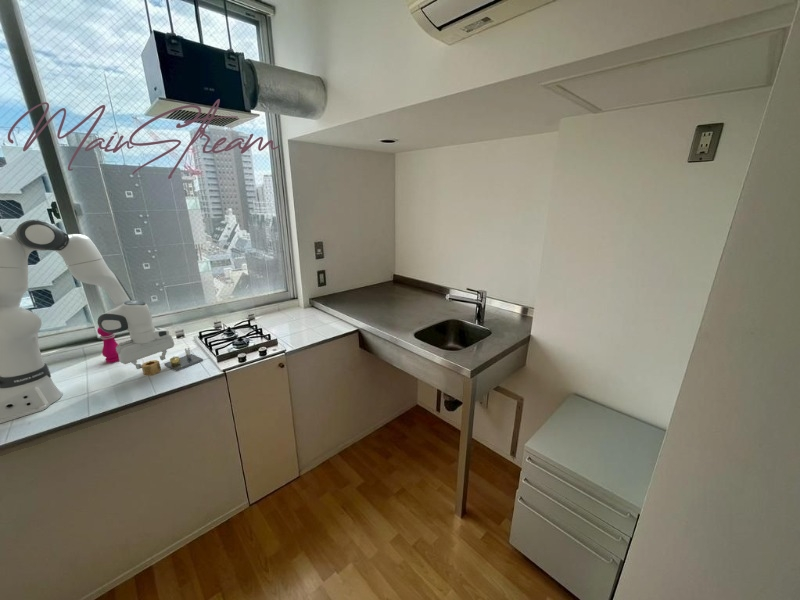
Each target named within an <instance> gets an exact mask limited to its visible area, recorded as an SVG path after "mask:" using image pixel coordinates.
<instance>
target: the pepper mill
mask: <svg viewBox="0 0 800 600" xmlns="http://www.w3.org/2000/svg"><path fill="white" fill-rule="evenodd" d="M97 334H98V335H100V340H102V342H103V347H102V350H101V352H102V357H105V362H106V363H107V364H113V363H117V362H120V361H119V357H118V353H117V351H116V346H117V345H119V344H118V343H117V342H116V339H115V337H116V335H115V333H107V332H104V331H103V330H102V329H100V327H99V326H98V328H97Z"/></svg>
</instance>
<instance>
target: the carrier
mask: <svg viewBox="0 0 800 600" xmlns="http://www.w3.org/2000/svg"><path fill="white" fill-rule="evenodd" d="M190 350H191V349H190V348H189V347H186V348H184V351H185V355H184V356H180V357H179V356H172V357H171V358H169V361H167V362H165V363H164V366H166V367H167V368H169V369H171V370H172V371H175V372H178V371H181V370H184V369H186V368H189V367H191V366H194V365H196V364H198V363H201V362H204V358H203V357H200V356H198V355H195V354H193V353H191V351H190Z"/></svg>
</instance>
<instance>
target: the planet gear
mask: <svg viewBox="0 0 800 600" xmlns="http://www.w3.org/2000/svg"><path fill="white" fill-rule="evenodd" d="M141 367H142V368H141V369H142V374H143V375H144V376H146V377H148V376H149V377H150V376H154V375H157V374H160V372H162V368H161V364H160V361H159V360H158V359H154V360H153V359H152V360H149V361H145V362H143V363H142V364H141Z"/></svg>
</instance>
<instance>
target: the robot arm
mask: <svg viewBox="0 0 800 600" xmlns="http://www.w3.org/2000/svg"><path fill="white" fill-rule="evenodd" d="M38 251H40V252H41V251H54V252H56V253H58V255H60V256H61V258H62V260H63V262H64V263H65V265H66V267H67V269H68V271H69V273H70V274H71V275H72V276H73V278H74V279H75V280H77V281H78V282H81V283H82V284H87V285H95V286H98V287H100V288H102V289H103V290H104V291H105V292H106V294H107V295H108V297H109V298H110V300H111V301H112V303H113V304H114V307H113V308H112V309H109V310H108V311H106V312H104V313H102V314H101V315H99V316H98V318H97V326H98V328H99V327H100V329H102V330H103V331H104V332H107V333H114V334H117V333H121V332H126V331H128V332H129V336H130V340H126V341H123V342H120V343H119V344H118V345H117V346H116V351H117V353H118V357H119V361H118V362H120V363H121V364H123V365H128V364H130V363H131V364H133V365H134V366H135V369H136V370H140V369H142V367H141V365H142V364H141V363H138V360H141V359H143V358H147V357H149V356H152V355H156V354H159V353H161V355H159V360H161V361H163V360H166V355H167V353H168V351H167V350H169V349H172V348H174V346H175V342H174V339H173V337H172V335H171V334H170V331H169V330H168V329H166V328H163V327H155V325H154V323H153V317H152V313H151V310H150V308H149V305H148V304H147V303H146V302H145V301H144V300H140V299H132V297H131V296H130V294H129V293H128V291H127V290H126V288H125V286H124V285H123V283H122V282H121V280H120V279H119V277H118V276H117V275H116V274H115V273H114V272H113V271H112V270H111V269H110V268H109V266H108V264H107V263H106V261H105V260H104V258H103V256H102V254H101V252H100V251H99V249H98V248H97V246H96V245H95V243H94V242H93V241H92V239H91V238H90V237H89V236H87V235H86V234H80V233H72V234H71V233H69V234H68V233H66V232H65V231H64V230H62V229H61V228H59V227H58V226H56V225H55V224H53V223H52V222H49V221H46V220H43V219H29V220H26V221H23V222H21V223H20V224H19V225H18V226H17V228H16V229H15V231H14V232H13V233H12V234H8V235H7V234H6V235H4V234H0V424H3V423H6V422H10V421H13V420H15V419H18V418H22V417H25V416H28V415H33V414H35V413H37V412H38V413H39V412H41V411H44V410H45V409H47V408H49V407H50V406H51V405H52V404H53V403H55V402H57V401H59V400H60V399H61V398H62V396H63V392H61V390H59V389H58V387H57V385H56V384H55V383H54V381H53V379H52V378H51V377H52V375H51V371H50V368H49V365H48V364H46V363H45V361H44V359H43V355H42V353H41V350H40V346H39V334H38V333H39V331H40V329H41V327H42V319H41V318H40V316H39V315H38V314H37V313H35V312H33V311H31V310H29V309H27V308H24V307H20V305H21V301H22V299H23V297H24V295H25V293H27V291H28V290H29V289H28V288H29V256H30V254H31V253H32V252H38Z"/></svg>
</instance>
